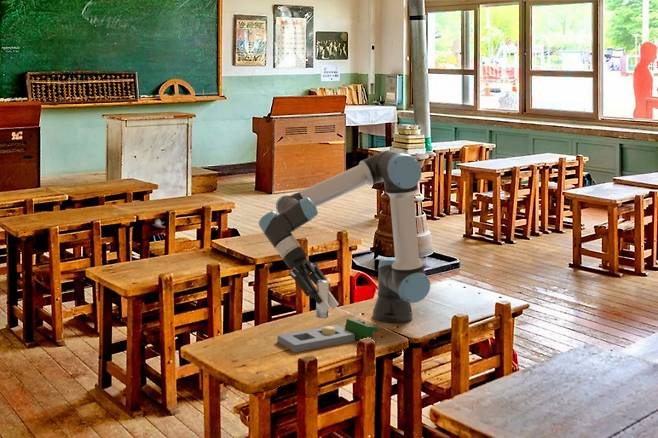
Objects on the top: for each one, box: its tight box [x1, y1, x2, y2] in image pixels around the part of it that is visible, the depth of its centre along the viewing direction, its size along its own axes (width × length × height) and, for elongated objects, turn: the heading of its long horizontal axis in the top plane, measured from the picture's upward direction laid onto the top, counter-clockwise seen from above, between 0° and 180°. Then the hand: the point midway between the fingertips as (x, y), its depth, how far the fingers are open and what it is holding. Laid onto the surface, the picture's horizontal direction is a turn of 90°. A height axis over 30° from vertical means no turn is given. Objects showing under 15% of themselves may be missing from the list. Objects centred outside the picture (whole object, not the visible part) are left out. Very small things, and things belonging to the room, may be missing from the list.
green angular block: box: [344, 318, 379, 341], centre depth 289 cm, size 12×6×9 cm
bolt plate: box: [277, 324, 356, 353], centre depth 284 cm, size 24×12×4 cm, turn 122°
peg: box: [315, 279, 330, 319], centre depth 270 cm, size 4×4×12 cm
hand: (331, 308), depth 269 cm, fingers closed on peg, 4 cm apart
